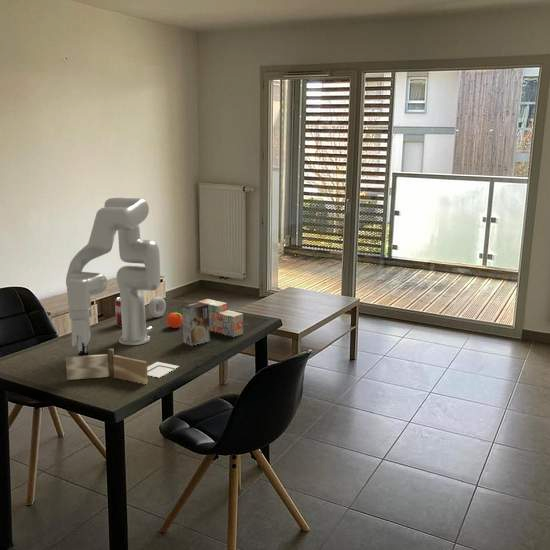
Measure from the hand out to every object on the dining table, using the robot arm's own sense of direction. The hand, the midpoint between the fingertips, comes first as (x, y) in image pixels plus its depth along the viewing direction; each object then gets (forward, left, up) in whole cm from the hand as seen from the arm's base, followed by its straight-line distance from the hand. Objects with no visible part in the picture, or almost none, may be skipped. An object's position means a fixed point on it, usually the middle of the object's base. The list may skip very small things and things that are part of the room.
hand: (84, 362), depth 223 cm
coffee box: (-48, +15, -5) cm, 50 cm away
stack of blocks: (-65, +16, -5) cm, 67 cm away
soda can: (-53, -27, -5) cm, 59 cm away
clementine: (-60, -4, -5) cm, 60 cm away
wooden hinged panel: (-4, +16, -5) cm, 18 cm away
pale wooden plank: (+2, +3, -5) cm, 6 cm away
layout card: (-16, +20, -5) cm, 26 cm away
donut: (-69, -21, -5) cm, 72 cm away
